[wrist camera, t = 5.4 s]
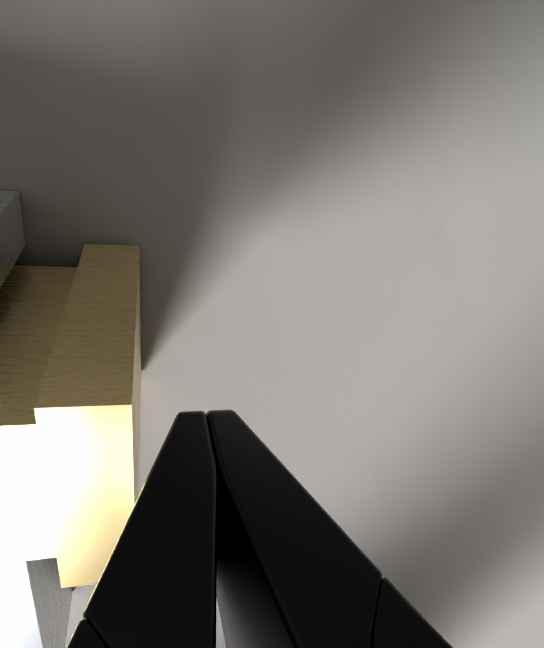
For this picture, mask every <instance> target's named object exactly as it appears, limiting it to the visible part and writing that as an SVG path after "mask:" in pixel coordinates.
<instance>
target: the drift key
mask: <svg viewBox="0 0 544 648" xmlns="http://www.w3.org/2000/svg"><path fill="white" fill-rule="evenodd" d="M140 404H141V327H140V246H133V245H106V244H85V245H84V248H83V251H82V254H81V258H80V261H79V264H78V267H47V266H13V267H12V269H11V271H10V272H9V274H8V276H7V278H6V279H5V281H4V283H3V284H2V286H1V288H0V564H1V563H10V562H19V561H28V560H38V559H47V558H56V557H57V563H58V570H59V577H60V583H61V588H67V587H75V586H83V585H91V584H97V583H98V581H99V579H100V576H101V574H102V572H103V570H104V568H105V566H106V564H107V562H108V560H109V557H110V555H111V553H112V551H113V549H114V547H115V545H116V543H117V541H118V538H119V536H120V534H121V532H122V530H123V528H124V526H125V524H126V522H127V519H128V517H129V515H130V513H131V511H132V509H133V507H134V505H135V503H136V500H137V498H138V483H139V443H140Z"/></svg>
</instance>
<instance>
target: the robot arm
mask: <svg viewBox="0 0 544 648" xmlns="http://www.w3.org/2000/svg"><path fill="white" fill-rule="evenodd" d="M381 579H382V580H381ZM216 596H217V601H218V606H219V611H220V617H221V622H222V627H223V632H224V637H225V642H226V648H453V647H452V646H451V645H450V644H449V643H448V642H446V641H445V640H444V639H443V637H442V636H441V635H440V634H439V633H438V632H437V631H436V630H435V629H434V628H433V627H432V626H431V625H430V624H429V623H428V622H427V621H426V620H425V619H424V618H423V617H422V616H421V614H420V613H419V612H418V611H417V610H416V609H415V608H414V607H413V606H412V605H411V604H410V603H409V602H408V601H407V600H406V599H405V598H404V596H403V595H402V594H401V593H400V592H399V591H398V590H397V589H396V588H395V587H394V585H393V584H392V583H391V582H390V581H389V580H388V579H387V578H382V573H381V572H380V570H379V569H378V568H377V567H376V566H375V565H374V564H373V563H372V562H371V561H370V559H369V558H368V557H367V556H366V555H365V554H364V553H363V552H362V551H361V550H360V549H359V547H358V546H357V545H356V544H355V543H354V542H353V541H352V540H351V539H350V538H349V536H348V535H347V534H346V533H345V532H344V531H343V530H342V529H341V528H340V527H339V525H338V524H337V523H336V522H335V521H334V520H333V519H332V518H331V517H330V516H329V514H328V513H327V512H326V511H325V510H324V509H323V508H322V507H321V506H320V505H319V504H318V502H317V501H316V500H315V499H314V498H313V497H312V496H311V495H310V494H309V493H308V491H307V490H306V489H305V488H304V487H303V486H302V485H301V484H300V483H299V482H298V480H297V479H296V478H295V477H294V476H293V475H292V474H291V473H290V472H289V471H288V469H287V468H286V467H285V466H284V465H283V464H282V463H281V462H280V461H279V460H278V459H277V457H276V456H275V455H274V454H273V453H272V452H271V451H270V450H269V449H268V448H267V446H266V445H265V444H264V443H263V442H262V441H261V440H260V439H259V438H258V437H257V435H256V434H255V433H254V432H253V431H252V430H251V429H250V428H249V427H248V426H247V425H246V423H245V422H244V421H243V420H242V419H241V418H240V417H239V416H238V415H237V414H236V413H235V412H234V411H233V410H211V411H208V412H207V414H205V412H203V411H187V412H180V413H178V415H177V416H176V418H175V420H174V422H173V424H172V427H171V429H170V431H169V433H168V435H167V437H166V439H165V441H164V443H163V446H162V448H161V450H160V452H159V454H158V456H157V458H156V460H155V462H154V465H153V467H152V469H151V471H150V473H149V475H148V477H147V479H146V481H145V484H144V486H143V488H142V490H141V492H140V494H139V496H138V498H137V500H136V503H135V505H134V507H133V509H132V511H131V513H130V515H129V517H128V519H127V522H126V524H125V526H124V528H123V530H122V532H121V534H120V536H119V538H118V541H117V543H116V545H115V547H114V549H113V551H112V553H111V555H110V557H109V560H108V562H107V564H106V566H105V568H104V570H103V572H102V574H101V576H100V579H99V581H98V583H97V585H96V587H95V589H94V591H93V593H92V595H91V598H90V600H89V602H88V604H87V606H86V608H85V610H84V612H83V619H82V620H80V621H79V622H78V624H77V626H76V628H75V630H74V633H73V635H72V637H71V639H70V641H69V643H68V645H67V647H66V648H216Z"/></svg>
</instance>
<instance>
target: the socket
mask: <svg viewBox="0 0 544 648" xmlns="http://www.w3.org/2000/svg"><path fill="white" fill-rule="evenodd" d="M25 245H26V243H25V235H24V228H23V220H22V213H21V205H20V198H19V191H7V190H0V288H1V286H2V284H3V283H4V281H5V279H6V278H7V276H8V274H9V272H10V271H11V269H12V267H13V266H14V264H15V262H16V260H17V259H18V257H19V255H20V254H21V252H22V250H23V248H24V247H25ZM71 599H72V588H71V587H67V588H61V583H60V577H59V570H58V563H57V557H56V558H47V559H38V560H28V561H19V562H10V563H1V564H0V648H65V642H66V635H67V628H68V621H69V613H70V606H71Z"/></svg>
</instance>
